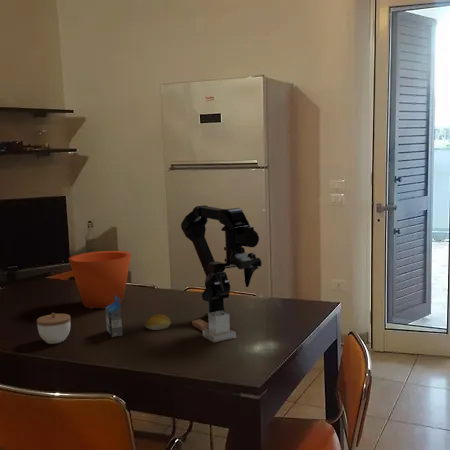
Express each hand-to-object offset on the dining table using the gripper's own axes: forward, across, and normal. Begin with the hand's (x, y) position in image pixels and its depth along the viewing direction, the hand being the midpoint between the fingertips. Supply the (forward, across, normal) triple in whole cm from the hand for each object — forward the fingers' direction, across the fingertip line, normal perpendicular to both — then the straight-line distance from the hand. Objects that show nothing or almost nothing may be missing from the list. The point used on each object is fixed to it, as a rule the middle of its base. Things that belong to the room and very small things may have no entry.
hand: (235, 288), depth 204 cm
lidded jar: (+12, -59, +18) cm, 63 cm away
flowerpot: (+12, -31, +57) cm, 66 cm away
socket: (+10, -13, -11) cm, 20 cm away
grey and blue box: (+12, -40, +14) cm, 44 cm away
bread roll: (+12, -25, +12) cm, 30 cm away
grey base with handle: (+12, -13, -5) cm, 18 cm away
